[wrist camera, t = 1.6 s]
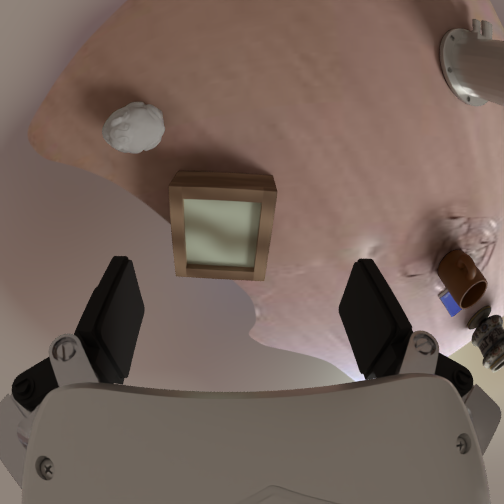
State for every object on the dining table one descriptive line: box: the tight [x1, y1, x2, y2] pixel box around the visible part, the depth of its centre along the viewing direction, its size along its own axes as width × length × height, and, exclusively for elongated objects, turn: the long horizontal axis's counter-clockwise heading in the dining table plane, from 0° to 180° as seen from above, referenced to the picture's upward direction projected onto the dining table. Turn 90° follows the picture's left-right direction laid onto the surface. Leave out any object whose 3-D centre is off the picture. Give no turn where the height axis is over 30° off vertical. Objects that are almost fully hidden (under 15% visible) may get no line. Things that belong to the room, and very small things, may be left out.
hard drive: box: [439, 289, 462, 317], centre depth 49 cm, size 2×8×12 cm
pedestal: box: [168, 171, 277, 281], centre depth 35 cm, size 13×12×5 cm
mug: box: [438, 250, 487, 309], centre depth 39 cm, size 12×8×9 cm, turn 34°
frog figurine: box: [102, 102, 165, 153], centre depth 26 cm, size 6×7×7 cm
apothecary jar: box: [467, 306, 504, 372], centre depth 50 cm, size 12×12×18 cm
